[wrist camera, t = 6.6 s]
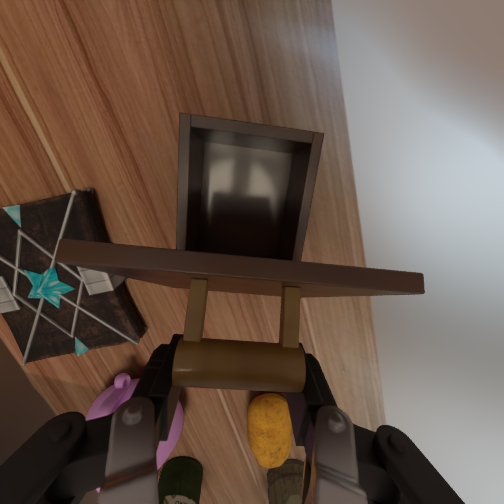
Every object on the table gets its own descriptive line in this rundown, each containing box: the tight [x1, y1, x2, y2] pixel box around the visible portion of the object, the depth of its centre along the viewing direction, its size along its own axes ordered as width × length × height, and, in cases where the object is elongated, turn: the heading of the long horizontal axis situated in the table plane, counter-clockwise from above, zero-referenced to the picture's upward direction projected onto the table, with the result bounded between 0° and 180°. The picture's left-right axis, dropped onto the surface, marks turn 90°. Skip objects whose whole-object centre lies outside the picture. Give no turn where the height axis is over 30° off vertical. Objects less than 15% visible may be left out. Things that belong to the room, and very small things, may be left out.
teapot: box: [86, 373, 184, 492], centre depth 34 cm, size 20×14×12 cm
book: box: [0, 188, 148, 365], centre depth 31 cm, size 22×17×5 cm
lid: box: [54, 239, 425, 393], centre depth 16 cm, size 17×13×5 cm
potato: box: [247, 393, 293, 468], centre depth 39 cm, size 8×14×7 cm, turn 4°
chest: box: [176, 113, 324, 261], centre depth 27 cm, size 16×13×9 cm
